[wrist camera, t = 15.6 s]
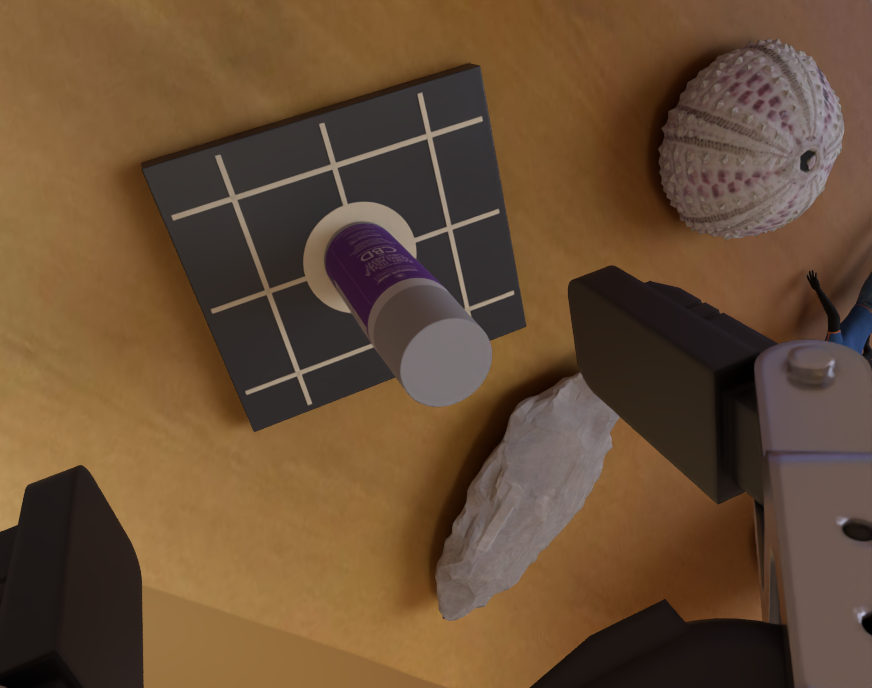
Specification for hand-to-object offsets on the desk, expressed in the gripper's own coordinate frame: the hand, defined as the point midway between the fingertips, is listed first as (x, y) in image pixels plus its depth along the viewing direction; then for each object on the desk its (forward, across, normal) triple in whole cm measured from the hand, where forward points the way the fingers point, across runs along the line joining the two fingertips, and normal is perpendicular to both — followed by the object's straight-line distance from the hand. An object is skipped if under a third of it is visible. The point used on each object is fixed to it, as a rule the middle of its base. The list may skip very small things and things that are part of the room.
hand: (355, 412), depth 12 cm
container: (+33, -6, +11) cm, 35 cm away
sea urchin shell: (+34, -34, +12) cm, 50 cm away
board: (+34, -6, +11) cm, 36 cm away
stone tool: (+34, -13, +34) cm, 50 cm away
